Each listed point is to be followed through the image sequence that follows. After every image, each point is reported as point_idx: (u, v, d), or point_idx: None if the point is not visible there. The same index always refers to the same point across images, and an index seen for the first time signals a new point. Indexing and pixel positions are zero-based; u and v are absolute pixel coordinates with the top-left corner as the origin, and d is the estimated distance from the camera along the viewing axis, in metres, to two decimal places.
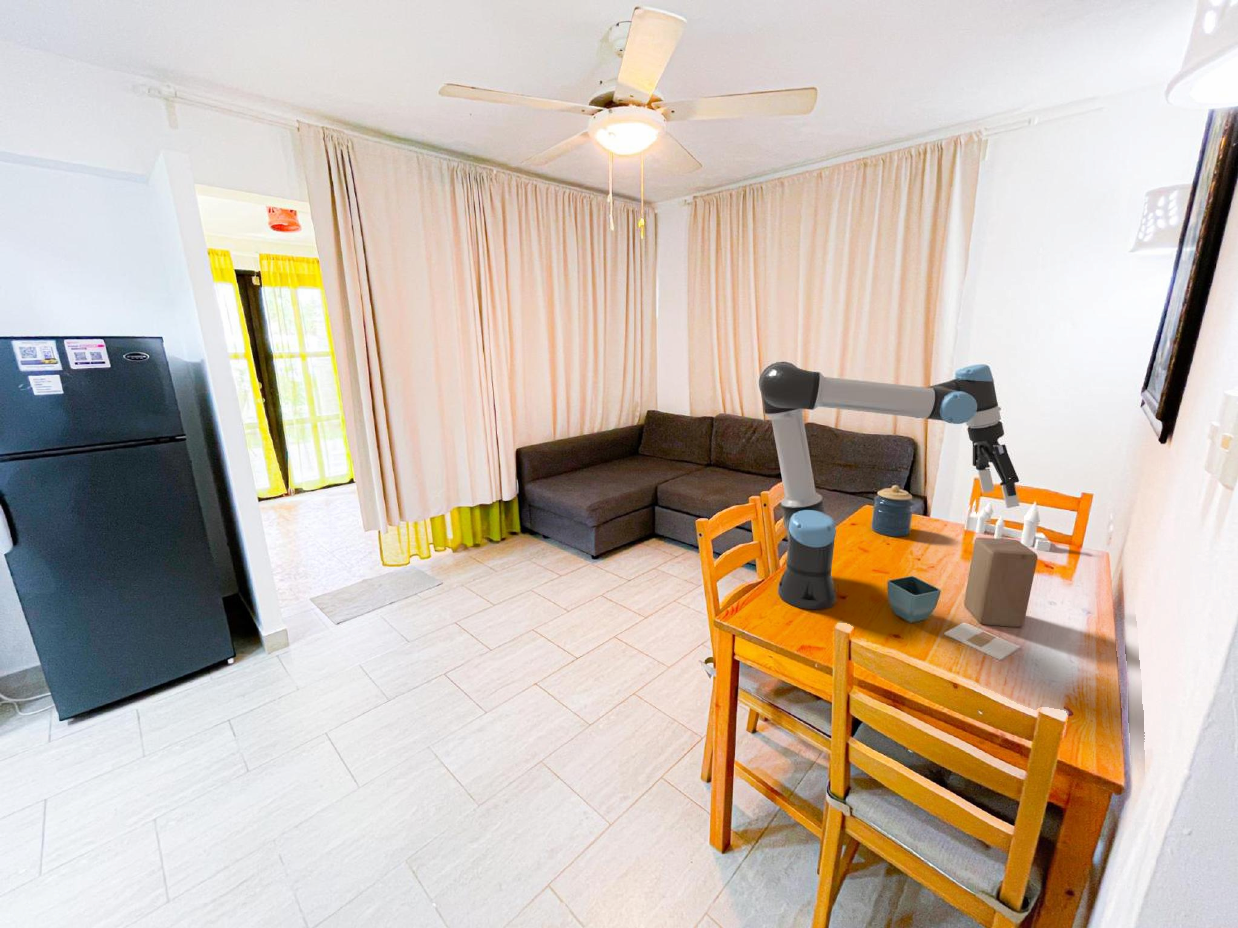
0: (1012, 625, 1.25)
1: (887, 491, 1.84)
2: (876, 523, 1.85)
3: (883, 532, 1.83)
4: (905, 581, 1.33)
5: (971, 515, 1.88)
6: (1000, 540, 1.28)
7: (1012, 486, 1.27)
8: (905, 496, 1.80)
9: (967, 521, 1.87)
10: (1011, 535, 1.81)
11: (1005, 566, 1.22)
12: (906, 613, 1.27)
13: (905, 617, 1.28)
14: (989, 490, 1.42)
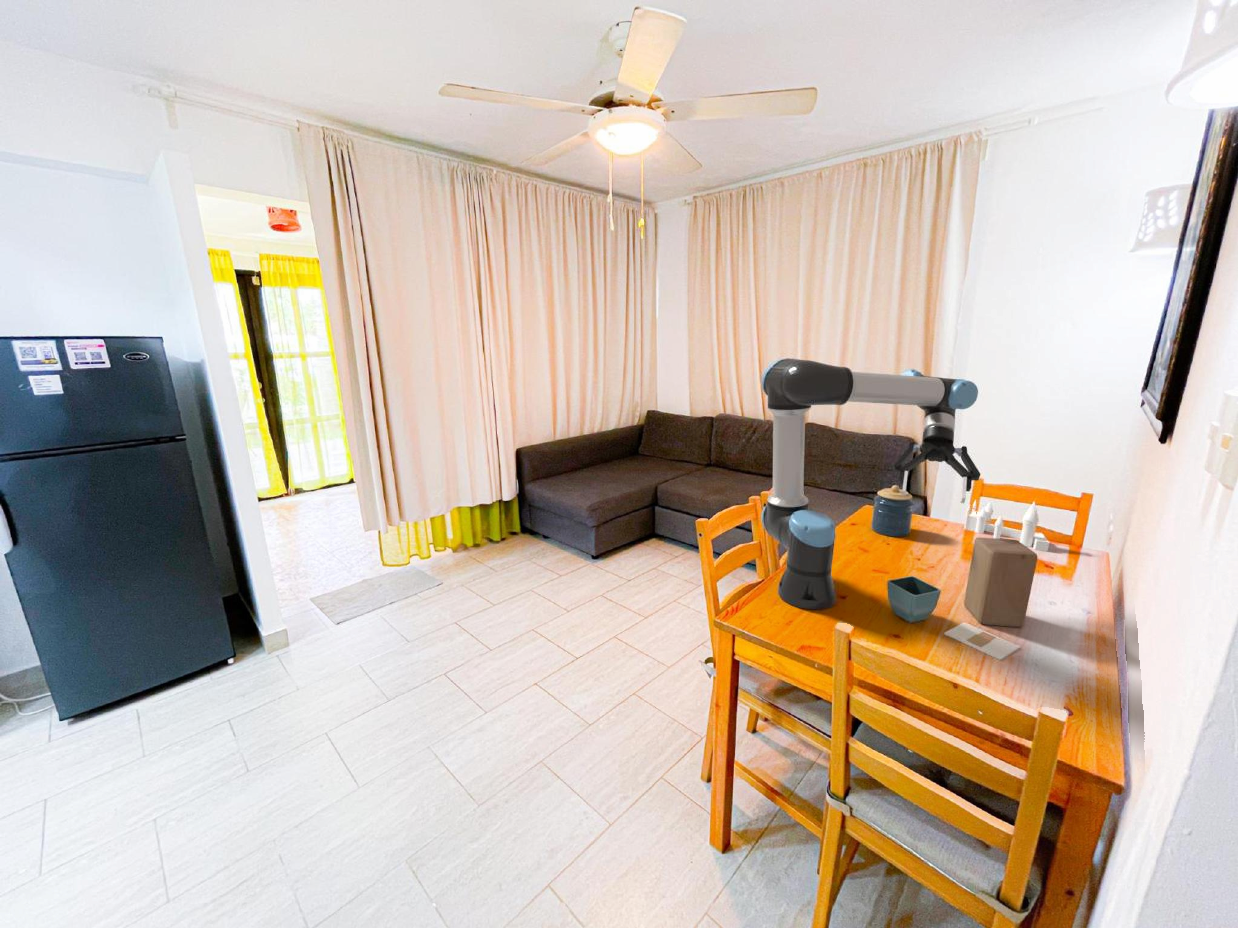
0: (1012, 625, 1.25)
1: (887, 491, 1.84)
2: (876, 523, 1.85)
3: (883, 532, 1.83)
4: (905, 581, 1.33)
5: (971, 515, 1.88)
6: (1000, 540, 1.28)
7: None
8: (905, 496, 1.80)
9: (967, 521, 1.88)
10: (1011, 534, 1.81)
11: (1005, 566, 1.22)
12: (906, 613, 1.27)
13: (905, 617, 1.28)
14: (905, 492, 1.39)
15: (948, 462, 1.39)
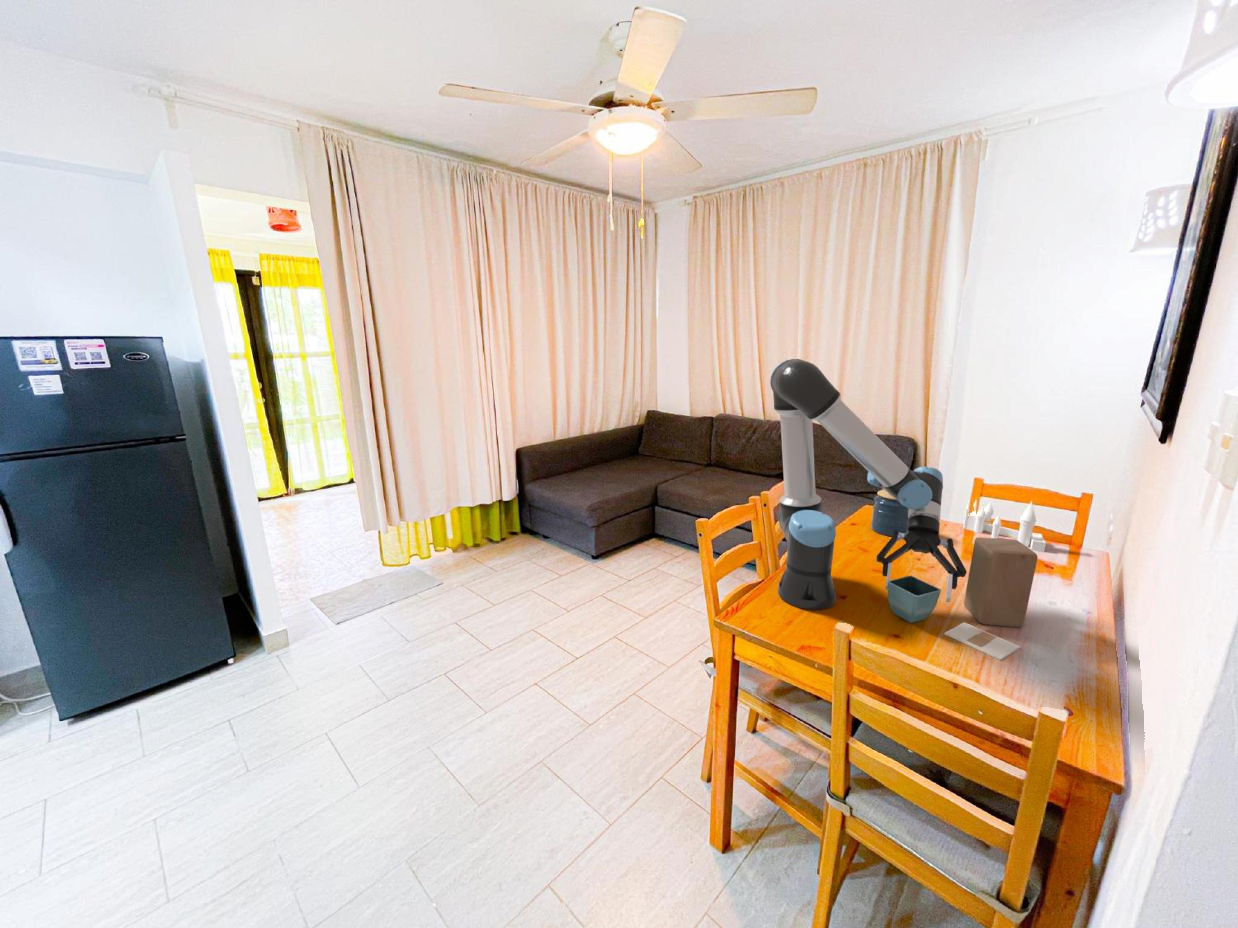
0: (1012, 625, 1.25)
1: None
2: (876, 523, 1.85)
3: (883, 532, 1.83)
4: (904, 581, 1.33)
5: (970, 514, 1.89)
6: (1000, 540, 1.28)
7: (956, 579, 1.28)
8: None
9: (966, 521, 1.88)
10: (1010, 535, 1.81)
11: (1005, 566, 1.22)
12: (908, 614, 1.26)
13: (905, 618, 1.28)
14: None
15: (933, 554, 1.33)
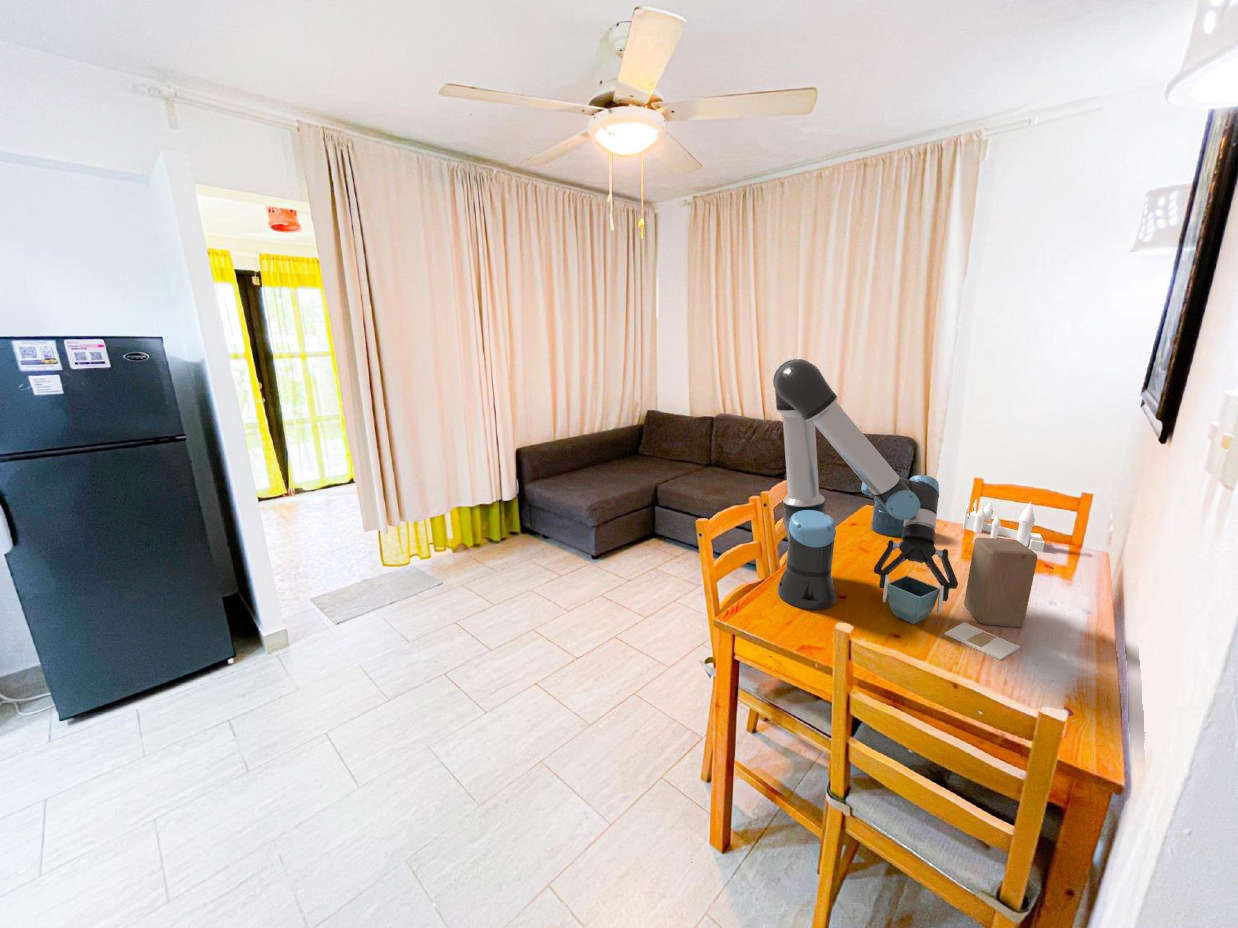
0: (1012, 625, 1.25)
1: None
2: (876, 523, 1.85)
3: (883, 532, 1.83)
4: (901, 582, 1.32)
5: (970, 514, 1.89)
6: (1000, 540, 1.28)
7: None
8: None
9: (965, 520, 1.88)
10: (1009, 535, 1.81)
11: (1005, 566, 1.22)
12: (910, 615, 1.26)
13: (907, 619, 1.27)
14: None
15: (927, 564, 1.32)
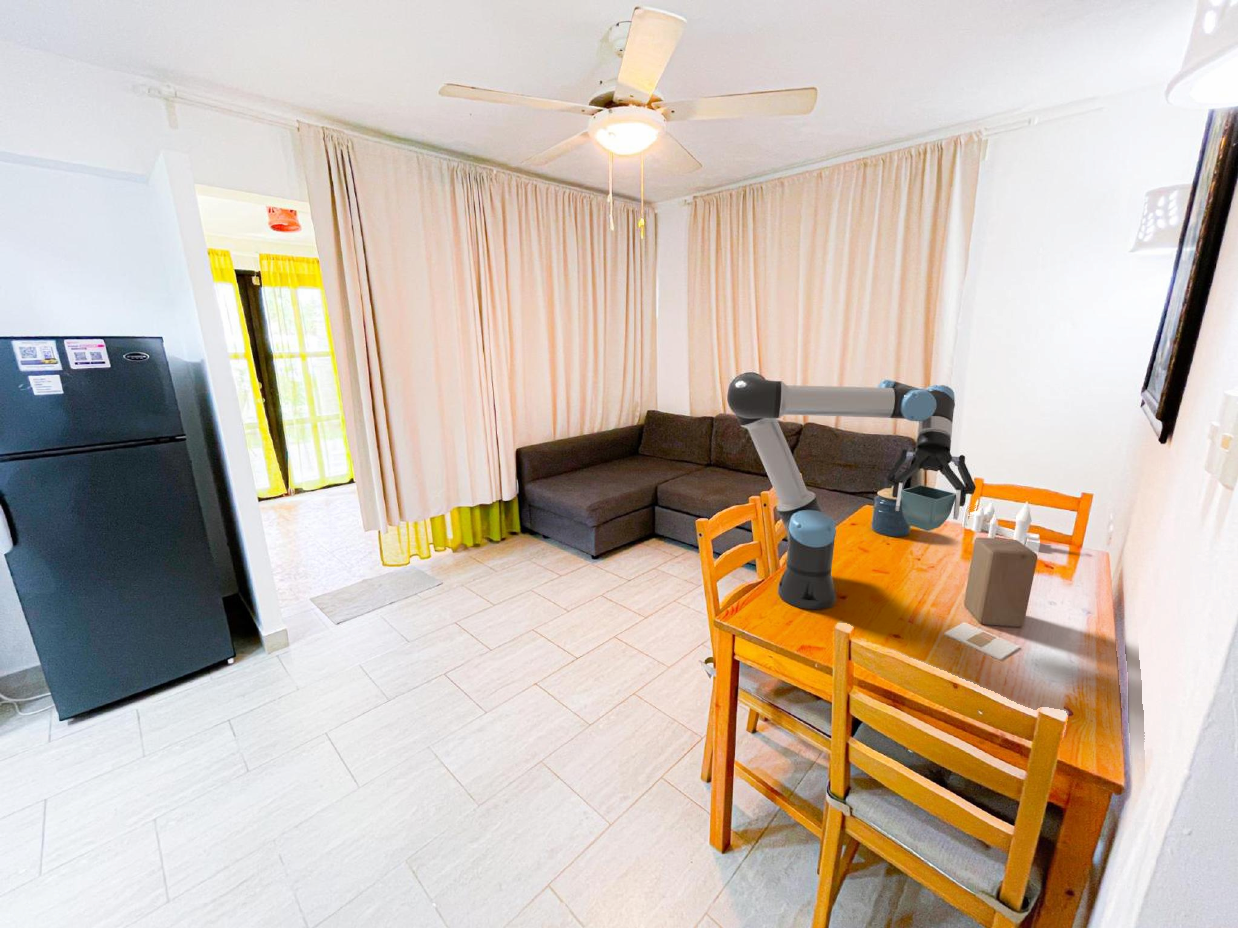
0: (1012, 625, 1.25)
1: (887, 491, 1.84)
2: (876, 523, 1.85)
3: (883, 532, 1.83)
4: (915, 491, 1.26)
5: (970, 513, 1.90)
6: (1000, 540, 1.28)
7: None
8: None
9: (965, 519, 1.89)
10: (1008, 535, 1.81)
11: (1005, 566, 1.22)
12: (925, 521, 1.20)
13: (922, 526, 1.21)
14: None
15: (943, 472, 1.25)
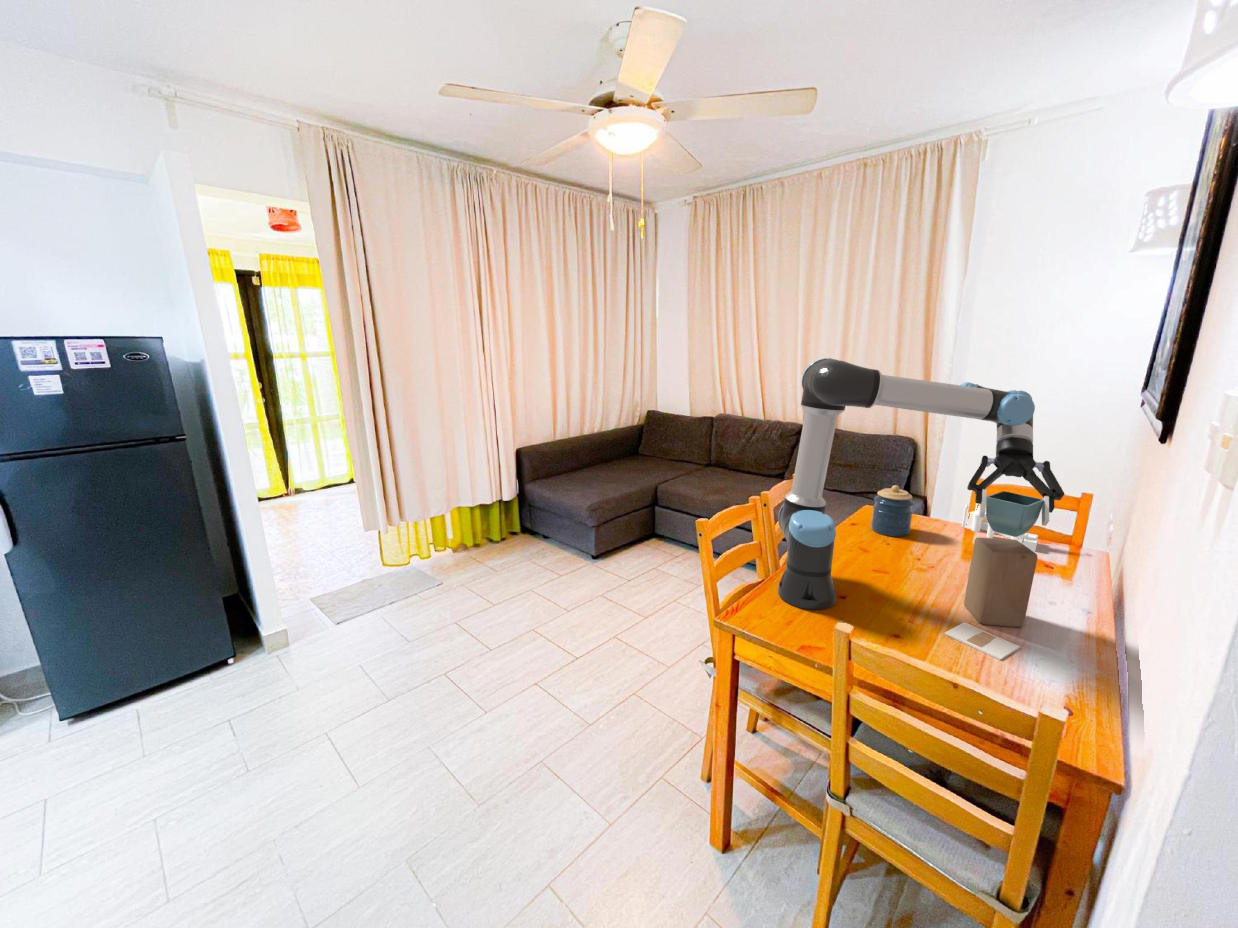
0: (1012, 625, 1.25)
1: (887, 491, 1.84)
2: (876, 523, 1.85)
3: (883, 532, 1.83)
4: (999, 497, 1.26)
5: None
6: (1000, 540, 1.28)
7: None
8: (905, 496, 1.80)
9: (964, 519, 1.90)
10: (1007, 535, 1.81)
11: (1005, 566, 1.22)
12: (1014, 527, 1.20)
13: (1009, 533, 1.21)
14: None
15: (1026, 478, 1.25)
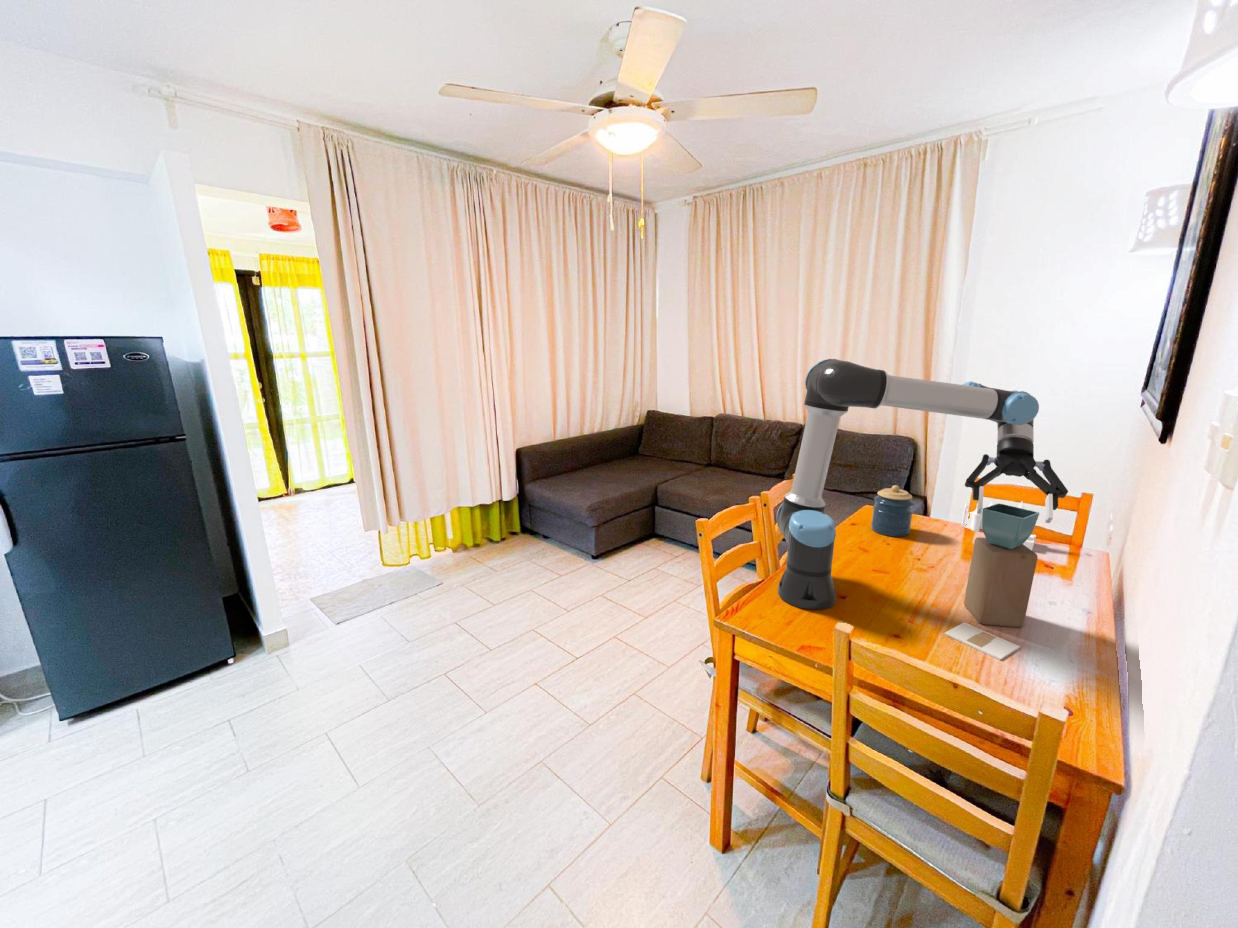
0: (1012, 625, 1.25)
1: (887, 491, 1.84)
2: (876, 523, 1.85)
3: (883, 532, 1.83)
4: (994, 509, 1.27)
5: None
6: None
7: None
8: (905, 496, 1.80)
9: (964, 518, 1.90)
10: None
11: (1005, 566, 1.22)
12: (1009, 539, 1.21)
13: (1005, 545, 1.22)
14: None
15: (1028, 477, 1.27)
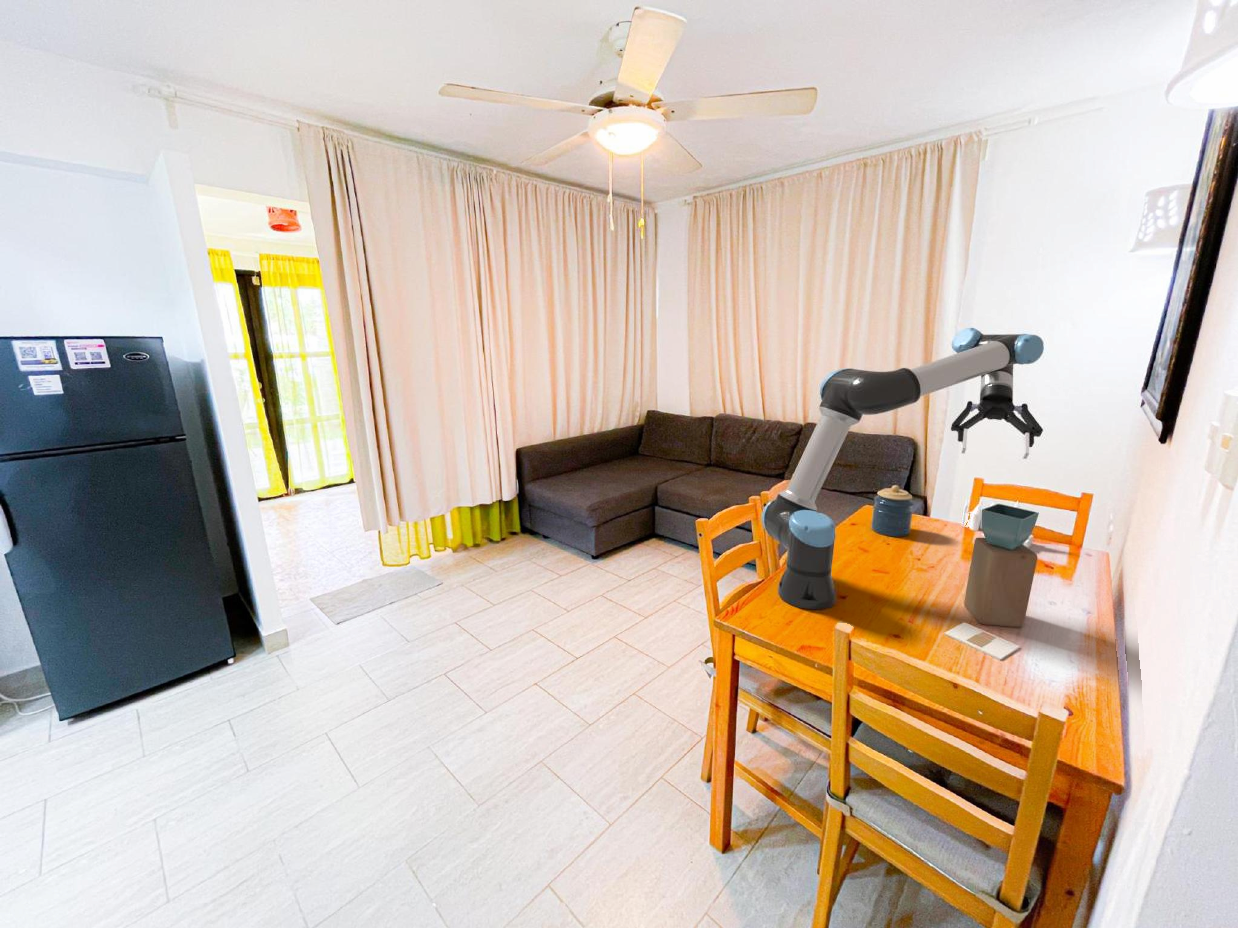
0: (1012, 625, 1.25)
1: (887, 491, 1.84)
2: (876, 523, 1.85)
3: (883, 532, 1.83)
4: (994, 509, 1.27)
5: (970, 512, 1.91)
6: None
7: None
8: (905, 496, 1.80)
9: (964, 518, 1.91)
10: None
11: (1005, 567, 1.22)
12: (1009, 540, 1.21)
13: (1005, 545, 1.22)
14: None
15: (1008, 420, 1.39)
